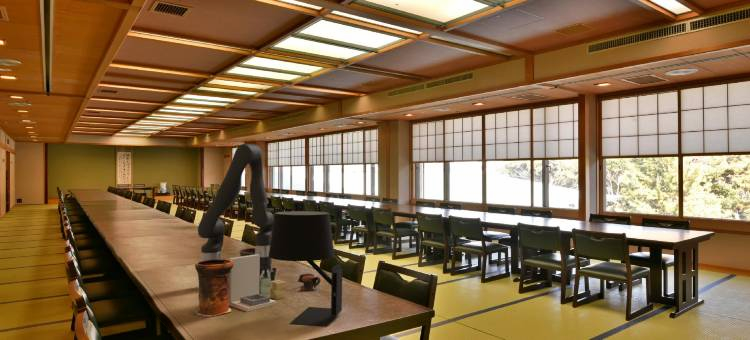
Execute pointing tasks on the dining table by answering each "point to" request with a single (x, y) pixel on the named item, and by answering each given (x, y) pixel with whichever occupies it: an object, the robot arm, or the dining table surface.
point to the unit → (246, 284)
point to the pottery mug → (308, 281)
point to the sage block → (265, 286)
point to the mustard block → (278, 289)
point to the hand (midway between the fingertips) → (262, 291)
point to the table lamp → (308, 256)
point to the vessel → (213, 286)
